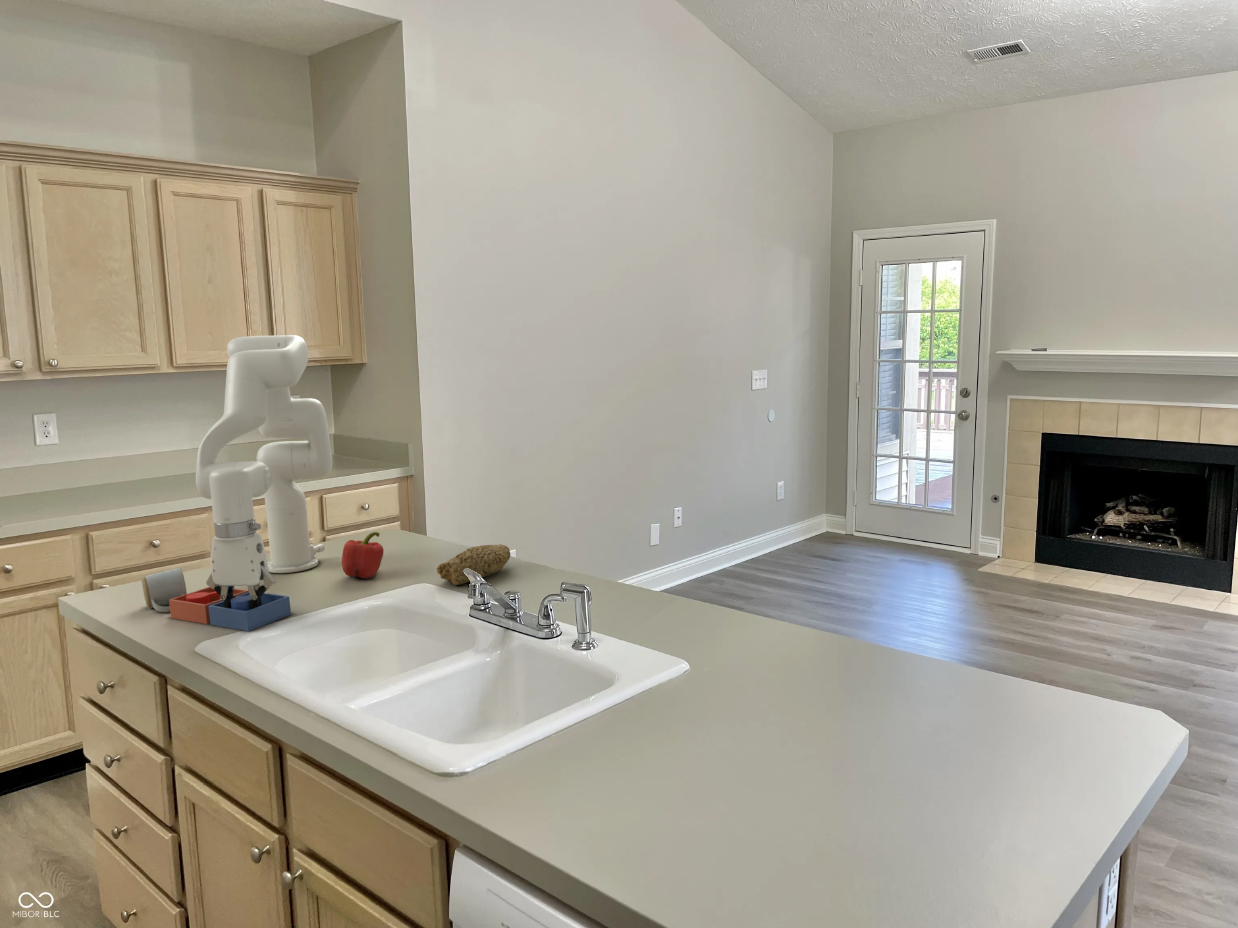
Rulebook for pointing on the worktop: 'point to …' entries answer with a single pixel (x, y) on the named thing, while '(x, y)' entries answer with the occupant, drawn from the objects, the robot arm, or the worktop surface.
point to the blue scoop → (241, 603)
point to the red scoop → (201, 597)
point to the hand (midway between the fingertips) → (244, 616)
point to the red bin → (196, 606)
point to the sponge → (474, 562)
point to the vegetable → (362, 557)
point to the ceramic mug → (163, 588)
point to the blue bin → (251, 613)
